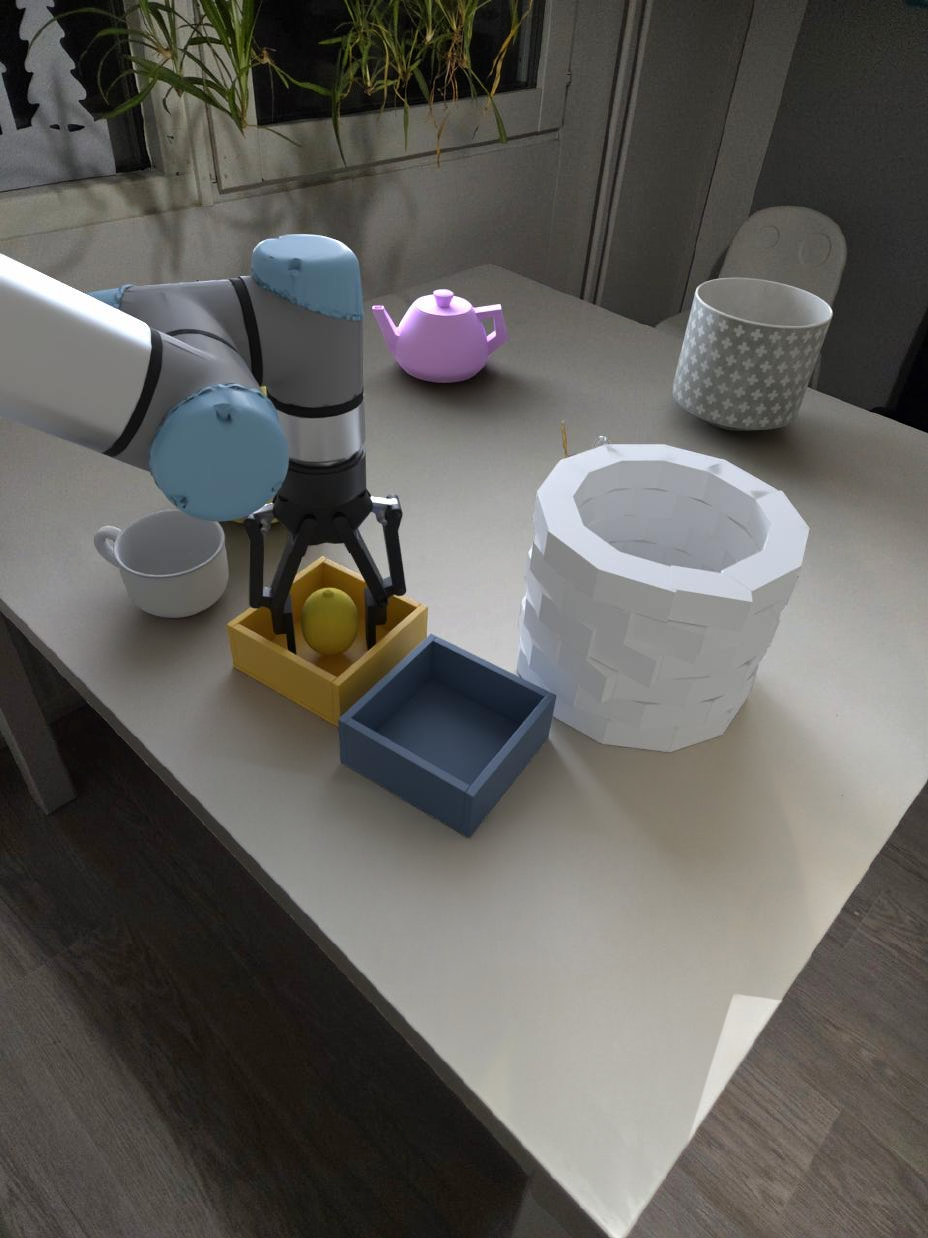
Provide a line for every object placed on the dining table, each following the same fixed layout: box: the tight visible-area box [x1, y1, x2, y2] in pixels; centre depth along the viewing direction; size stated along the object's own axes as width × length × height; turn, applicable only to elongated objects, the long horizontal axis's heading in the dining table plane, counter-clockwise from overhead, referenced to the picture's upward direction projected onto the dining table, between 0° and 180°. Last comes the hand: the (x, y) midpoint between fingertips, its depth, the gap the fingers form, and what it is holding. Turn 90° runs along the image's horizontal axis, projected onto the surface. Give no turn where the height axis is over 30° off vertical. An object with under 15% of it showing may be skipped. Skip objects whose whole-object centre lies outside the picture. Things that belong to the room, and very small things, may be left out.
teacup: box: [93, 508, 230, 619], centre depth 86 cm, size 14×11×8 cm
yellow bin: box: [226, 555, 429, 728], centre depth 81 cm, size 14×14×6 cm
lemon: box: [301, 588, 359, 656], centre depth 79 cm, size 6×6×8 cm
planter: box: [671, 277, 834, 432], centre depth 122 cm, size 19×19×18 cm
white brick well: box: [516, 443, 811, 753], centre depth 78 cm, size 25×24×19 cm
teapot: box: [372, 289, 510, 384], centre depth 132 cm, size 22×16×12 cm
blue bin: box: [337, 633, 556, 840], centre depth 73 cm, size 14×14×6 cm
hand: (332, 650), depth 82 cm, fingers open, 7 cm apart
